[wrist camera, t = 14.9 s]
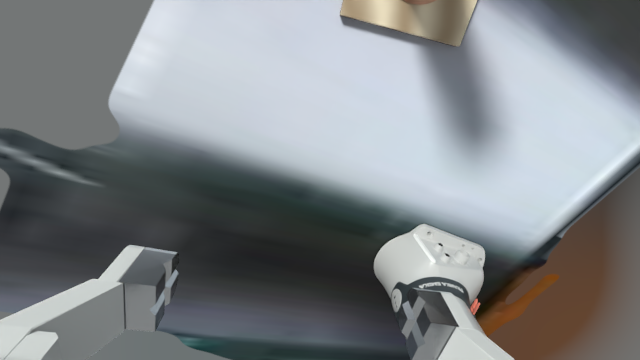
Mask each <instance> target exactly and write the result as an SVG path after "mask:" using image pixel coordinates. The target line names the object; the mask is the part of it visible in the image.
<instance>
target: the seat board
mask: <svg viewBox="0 0 640 360" xmlns="http://www.w3.org/2000/svg"><path fill="white" fill-rule="evenodd" d="M476 2H477V0H343V3H342V7H341V11H340V15H341V16H344V17H348V18H352V19H356V20H359V21H363V22H367V23H370V24H374V25H378V26H381V27H385V28H389V29H393V30H396V31H400V32H404V33H407V34H411V35H415V36H419V37H422V38H426V39H430V40H433V41H437V42H441V43H445V44H448V45H452V46H459V47H460V44H461V41H462V39H463V36H464V34H465V31H466V28H467V26H468V23H469V20H470V18H471V15H472V13H473V10H474V7H475V5H476Z"/></svg>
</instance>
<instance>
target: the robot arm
mask: <svg viewBox="0 0 640 360" xmlns="http://www.w3.org/2000/svg"><path fill="white" fill-rule="evenodd" d="M428 232H429V233H428ZM484 261H485V251H484V249H483V247H482V246H480V245H478V244H476V243H473V242H471V241H468V240H465V239H463V238H460V237H458V236H455V235H452V234H450V233H447V232H445V231H442V230H439V229H437V228H434V227H432V226H429V225H426V224H421V225H419V226H417V227H416V228H415V229H413V230H412V231H411V232H409V233H407V234H404V235H401V236H398V237H396V238H394V239H392V240H390V241H389V242H388V243H386V244H385V245H384V246H383V247H382V248H381V249H380V251H379V252H378V254H377V255H376V258H375V261H374V272H375V275H376V277H377V278H378V280H379V281H380V282H381V283H382V285H383V286H384V288H385V290H386V291H387V293H388V295H389V297H390V299H391V302H392V307H393V311H394V314H395V317H396V320H397V322H398V325H399V328H400V330H401V332H402V333H403V335H404V336H405V338H406V343H405V344H406V347H407V350H408V353H409V356H410V359H411V360H515V359H513V358H512V357H511V356H510V355H508V354H507V353H506V352H505V351H503V350H502V349H501V348H500V347H499V346H497V345H496V344H495V343H494V342H492V341H491V340H490V339H489V338H487V336H486V335H485V333H484V332H483V330H482V329H481V327H480V325H479V324H478V322H477V321H476V319H475V315H474V314H475V313H476V311H477V309H478V308H479V305H480V303H478V304H477V301H478V300H477V299H475V298H476V296H477V295H478V293H479V291H480V289H481V287H482V284H483V280H484V273H483V269H482V268H483V265H484ZM178 263H179V254H178V253H177V252H171V251H165V250H159V249H153V248H148V247H147V248H145V247H140V246H134V245H129V246H127V247H126V248H125V249H124V250H123V251H122V252H121V253H120V255H119V256H118V257H117V258H116V259H115V260H114V261H113V263H112V264H111V265H110V266H109V267H108V268H107V270H106V271H105V272H104V273H103V274H102V275H101V276H100V278H99V279H91V280H89V281H87V282H85V283H82V284H80V285H78V286H76V287H73V288H71V289H69V290H66V291H64V292H62V293H60V294H57V295H55V296H53V297H51V298H48V299H46V300H44V301H42V302H39V303H37V304H35V305H33V306H30V307H28V308H26V309H24V310H21V311H19V312H17V313H15V314H13V315H10V316H8V317H6V318H3V319H1V320H0V360H86V359H88V358H89V357H90V356H92V355H93V354H94V353H96V352H97V351H98V350H100V349H101V348H102V347H104V346H105V345H106V344H108V343H109V342H110V341H112V340H113V339H115V338H116V337H117V336H119V335H120V334H121V333H123V332H124V331H125V329H127V330H128V329H129V330H139V331H152V332H155V331H156V329H157V327H158V325H159V323H160V321H161V319H162V317H163V315H164V308H165V305H167V304H168V303H170V302H171V299H172V297H173V295H174V292H175V289H176V286H177V281H178V272H177V271H176V270H175V269H176V267H177V265H178ZM474 299H475V301H474ZM473 301H474V303H473V304H472V306H471V308H470V305H471V303H472V302H473Z"/></svg>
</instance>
